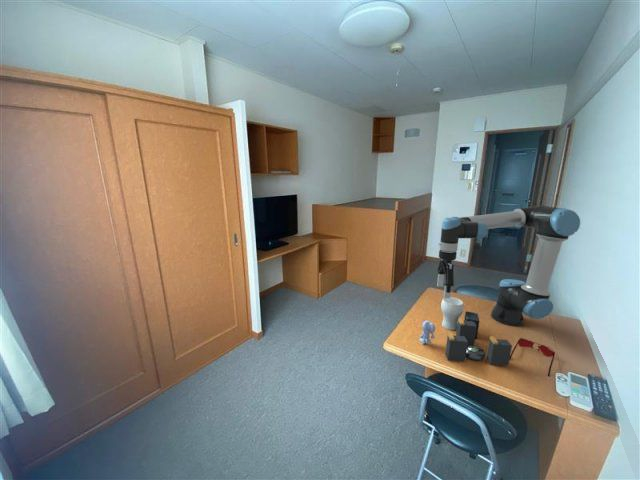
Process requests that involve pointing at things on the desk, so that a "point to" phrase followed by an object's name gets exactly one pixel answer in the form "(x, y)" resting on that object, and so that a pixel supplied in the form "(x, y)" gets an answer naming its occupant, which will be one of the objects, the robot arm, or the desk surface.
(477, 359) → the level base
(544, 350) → the glasses
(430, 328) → the toy figurine
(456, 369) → the desk surface
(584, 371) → the desk surface
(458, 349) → the dark grey block
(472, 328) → the grey tan block
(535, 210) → the robot arm
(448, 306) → the cup
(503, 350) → the dark grey tan-ended block
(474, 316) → the box
